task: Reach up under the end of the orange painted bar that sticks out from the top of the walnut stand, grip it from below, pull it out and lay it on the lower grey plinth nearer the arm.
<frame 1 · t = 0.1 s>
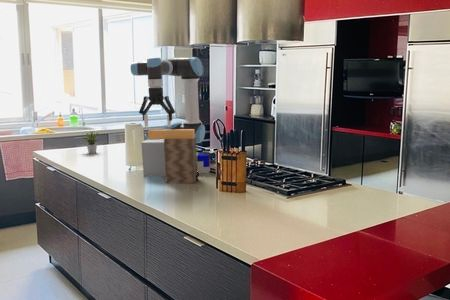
hand: (157, 126, 257), 28 cm above the worktop, tool pointing down, fingers open, 13 cm apart
orange bar: (171, 138, 249), point 23 cm above the worktop, touching walnut stand
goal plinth: (159, 173, 270), on the worktop
puzzle toy: (201, 171, 275), on the worktop
walnut stand: (182, 180, 253), on the worktop
house plant: (93, 152, 341), on the worktop
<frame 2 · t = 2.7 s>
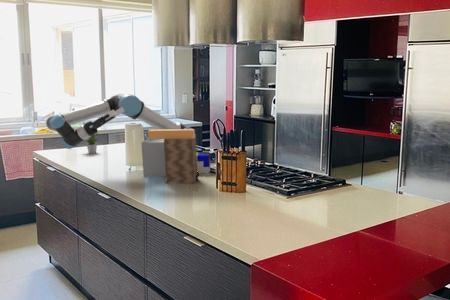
hand: (119, 110, 253), 38 cm above the worktop, tool pointing upward, fingers open, 13 cm apart
nothing on the worktop moved.
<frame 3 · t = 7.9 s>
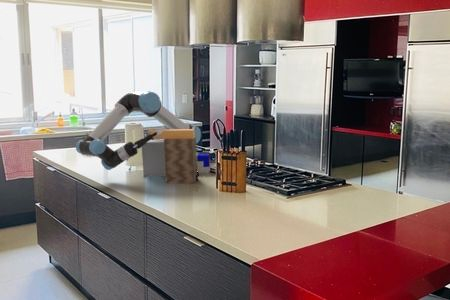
hand: (163, 129, 249), 28 cm above the worktop, tool pointing upward, fingers closed on orange bar, 4 cm apart
orange bar: (171, 138, 249), point 23 cm above the worktop, touching gripper, walnut stand
everything else where it was.
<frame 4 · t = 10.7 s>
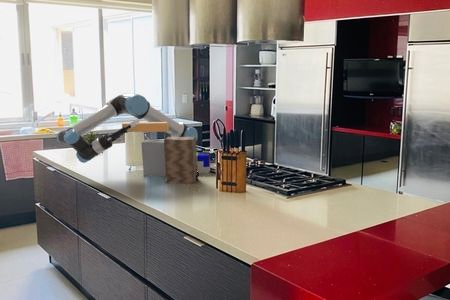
hand: (137, 121, 251), 32 cm above the worktop, tool pointing upward, fingers closed on orange bar, 4 cm apart
orange bar: (145, 131, 251), point 27 cm above the worktop, touching gripper
everything else where it was.
when the fingers open (25 cm above the worktop, at t = 13.6 s): orange bar stays where it is, resting on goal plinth.
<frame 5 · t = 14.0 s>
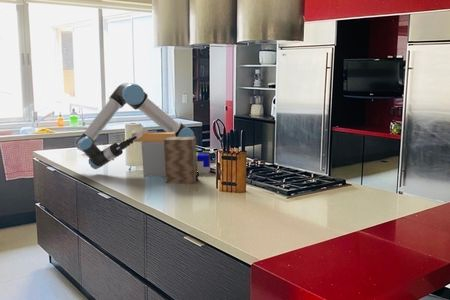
hand: (144, 132, 266), 24 cm above the worktop, tool pointing upward, fingers open, 10 cm apart
orange bar: (154, 141, 267), point 19 cm above the worktop, touching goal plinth
everything else where it was.
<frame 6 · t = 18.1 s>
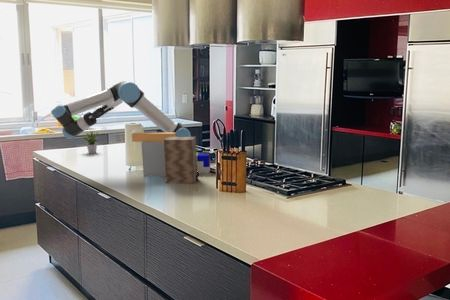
hand: (117, 101, 264), 42 cm above the worktop, tool pointing upward, fingers open, 13 cm apart
nothing on the worktop moved.
at the end: orange bar inside the target area on the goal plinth (2.1 cm from its centre), point 19.0 cm above the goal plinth's base; orange bar touching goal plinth; the gripper is holding nothing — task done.
